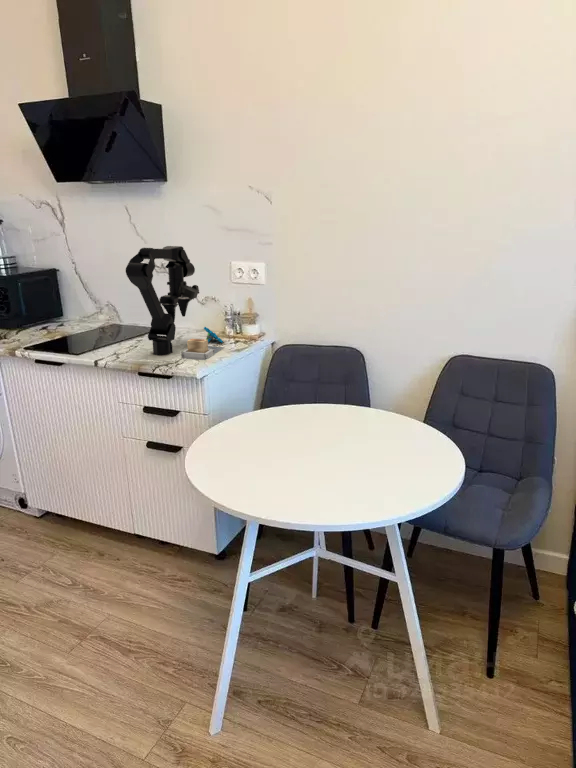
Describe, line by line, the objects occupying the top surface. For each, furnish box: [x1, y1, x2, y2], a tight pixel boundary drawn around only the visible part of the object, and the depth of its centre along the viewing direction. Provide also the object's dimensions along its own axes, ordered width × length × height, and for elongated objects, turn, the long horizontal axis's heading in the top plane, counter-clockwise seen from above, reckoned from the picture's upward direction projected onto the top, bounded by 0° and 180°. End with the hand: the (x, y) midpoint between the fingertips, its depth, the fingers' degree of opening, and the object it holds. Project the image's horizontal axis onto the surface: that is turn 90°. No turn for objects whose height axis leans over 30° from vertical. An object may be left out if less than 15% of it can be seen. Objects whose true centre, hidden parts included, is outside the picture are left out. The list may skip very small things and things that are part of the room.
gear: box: [203, 326, 224, 344], centre depth 229 cm, size 11×6×10 cm
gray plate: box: [180, 345, 226, 361], centre depth 212 cm, size 20×10×3 cm, turn 164°
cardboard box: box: [186, 338, 209, 353], centre depth 207 cm, size 6×4×6 cm, turn 74°
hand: (178, 318), depth 220 cm, fingers open, 9 cm apart
